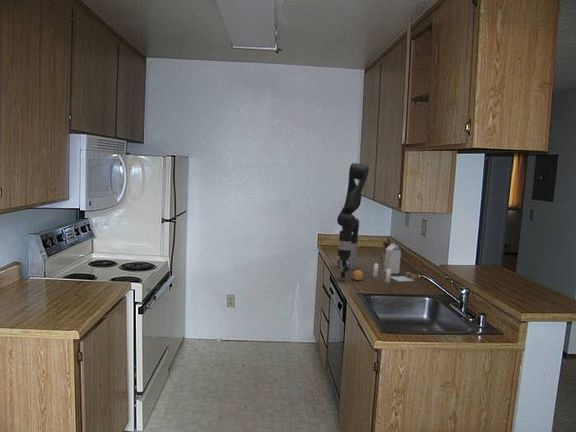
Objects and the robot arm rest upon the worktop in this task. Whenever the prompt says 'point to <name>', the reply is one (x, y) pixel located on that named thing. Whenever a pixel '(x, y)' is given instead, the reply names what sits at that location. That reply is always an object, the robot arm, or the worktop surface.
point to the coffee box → (384, 251)
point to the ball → (357, 275)
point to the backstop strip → (411, 276)
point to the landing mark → (401, 278)
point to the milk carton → (392, 258)
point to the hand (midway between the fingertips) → (342, 277)
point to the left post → (375, 270)
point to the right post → (388, 275)
